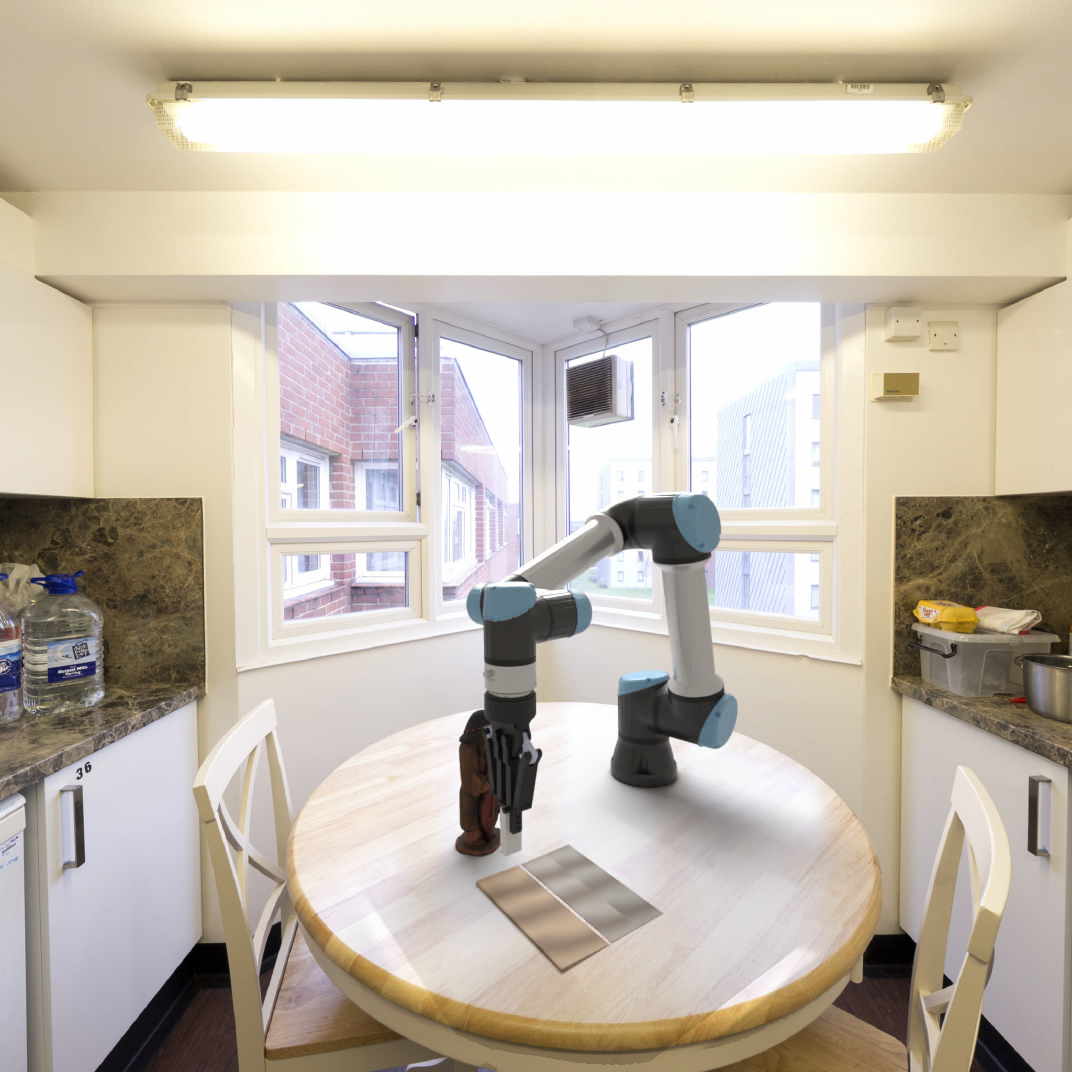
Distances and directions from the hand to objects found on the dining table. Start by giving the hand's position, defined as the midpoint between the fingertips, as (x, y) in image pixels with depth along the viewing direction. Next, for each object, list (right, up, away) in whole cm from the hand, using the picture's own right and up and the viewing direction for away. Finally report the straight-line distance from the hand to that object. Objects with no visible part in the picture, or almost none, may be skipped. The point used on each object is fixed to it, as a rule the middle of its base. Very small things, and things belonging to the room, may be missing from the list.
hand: (511, 850), depth 85 cm
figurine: (-6, -10, +19) cm, 23 cm away
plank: (+4, -10, 0) cm, 11 cm away
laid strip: (+12, -10, +6) cm, 17 cm away
